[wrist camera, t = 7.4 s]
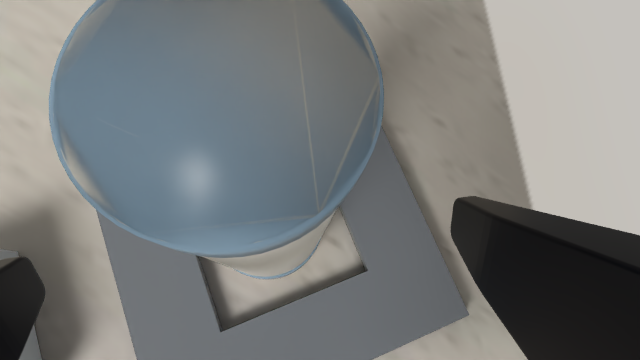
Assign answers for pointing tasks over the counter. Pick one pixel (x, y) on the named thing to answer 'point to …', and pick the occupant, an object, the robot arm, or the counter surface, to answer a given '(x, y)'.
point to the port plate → (308, 312)
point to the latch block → (31, 351)
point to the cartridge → (218, 122)
